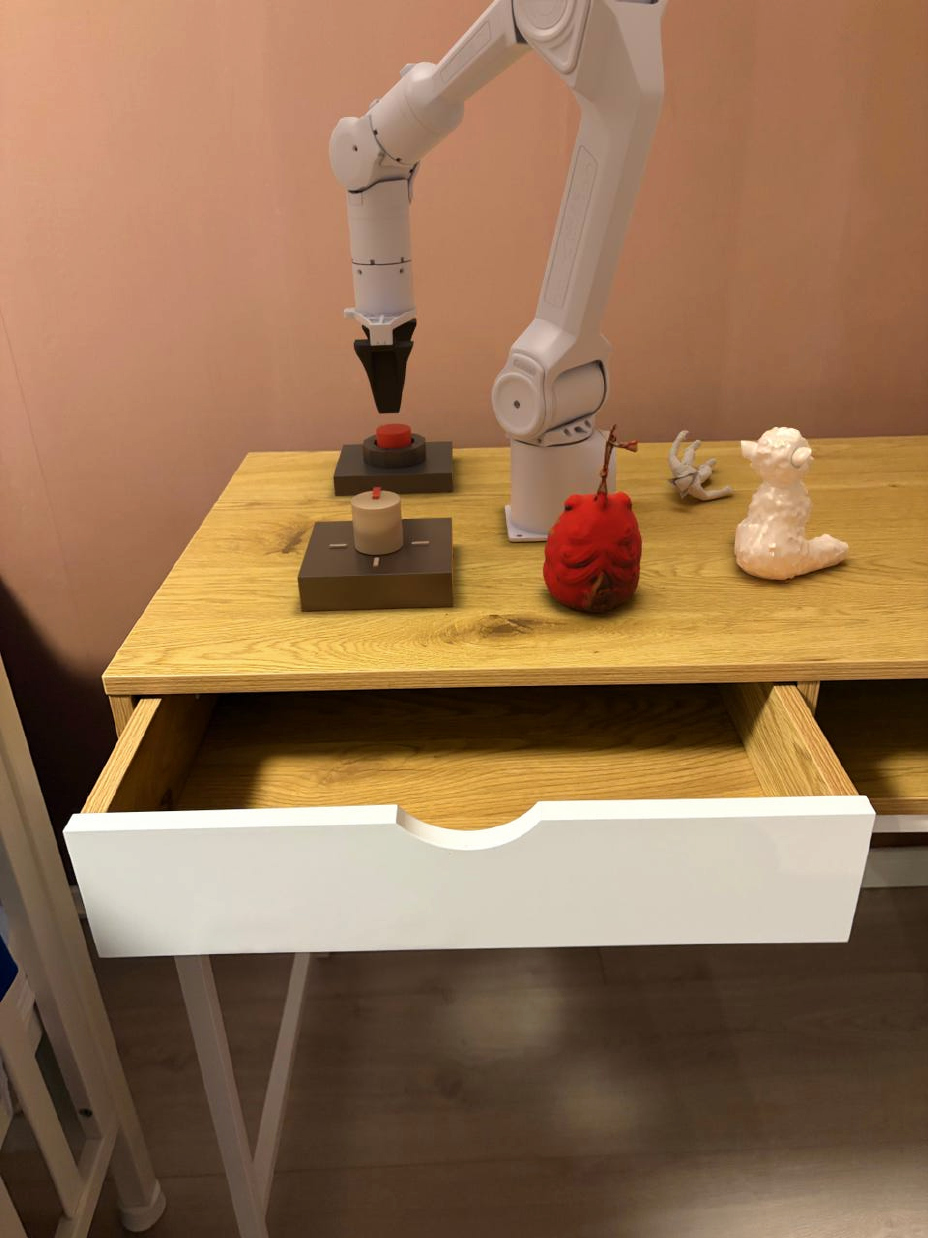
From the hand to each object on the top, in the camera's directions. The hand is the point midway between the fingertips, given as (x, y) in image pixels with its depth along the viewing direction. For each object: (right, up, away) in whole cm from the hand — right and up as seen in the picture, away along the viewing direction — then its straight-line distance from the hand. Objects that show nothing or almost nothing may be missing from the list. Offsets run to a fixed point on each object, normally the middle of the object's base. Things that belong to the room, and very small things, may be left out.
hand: (391, 401), depth 96 cm
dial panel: (+1, -19, -17) cm, 25 cm away
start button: (0, -4, +2) cm, 5 cm away
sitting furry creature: (+34, -18, -17) cm, 42 cm away
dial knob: (0, -16, -19) cm, 25 cm away
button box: (0, -7, +4) cm, 8 cm away
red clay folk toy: (+18, -21, -21) cm, 35 cm away
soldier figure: (+30, -9, -1) cm, 32 cm away
